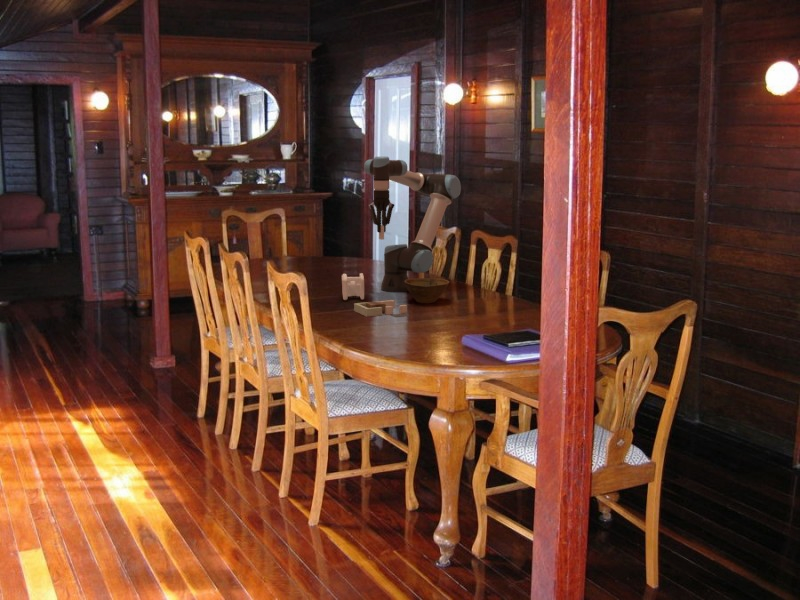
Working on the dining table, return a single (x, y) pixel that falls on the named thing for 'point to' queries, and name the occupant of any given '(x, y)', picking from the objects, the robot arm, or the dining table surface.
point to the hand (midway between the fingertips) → (381, 239)
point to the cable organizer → (353, 286)
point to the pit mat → (400, 315)
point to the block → (376, 305)
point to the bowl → (426, 289)
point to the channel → (391, 304)
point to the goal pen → (367, 310)
